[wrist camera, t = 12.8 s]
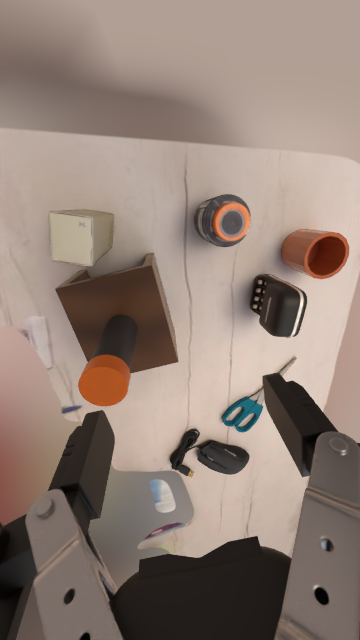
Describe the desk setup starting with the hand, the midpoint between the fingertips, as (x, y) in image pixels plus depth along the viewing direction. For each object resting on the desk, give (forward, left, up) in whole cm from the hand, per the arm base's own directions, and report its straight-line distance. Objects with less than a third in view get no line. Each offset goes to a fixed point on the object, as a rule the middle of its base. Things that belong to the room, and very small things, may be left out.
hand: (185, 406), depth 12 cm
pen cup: (+2, +22, -31) cm, 37 cm away
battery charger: (+7, +14, -31) cm, 35 cm away
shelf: (+4, -7, -31) cm, 32 cm away
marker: (+4, -7, -21) cm, 22 cm away
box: (-8, -8, -31) cm, 33 cm away
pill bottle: (-6, +9, -31) cm, 32 cm away
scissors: (+29, +13, -31) cm, 44 cm away
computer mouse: (+44, -1, -31) cm, 53 cm away
